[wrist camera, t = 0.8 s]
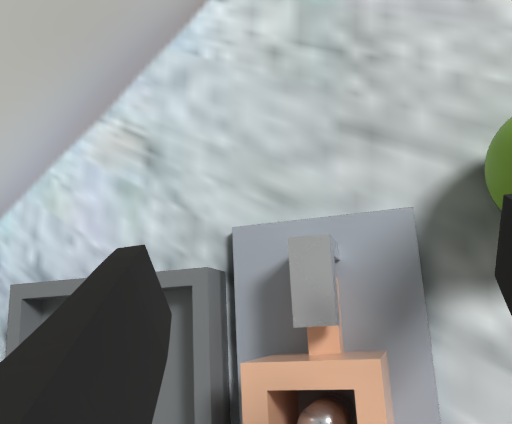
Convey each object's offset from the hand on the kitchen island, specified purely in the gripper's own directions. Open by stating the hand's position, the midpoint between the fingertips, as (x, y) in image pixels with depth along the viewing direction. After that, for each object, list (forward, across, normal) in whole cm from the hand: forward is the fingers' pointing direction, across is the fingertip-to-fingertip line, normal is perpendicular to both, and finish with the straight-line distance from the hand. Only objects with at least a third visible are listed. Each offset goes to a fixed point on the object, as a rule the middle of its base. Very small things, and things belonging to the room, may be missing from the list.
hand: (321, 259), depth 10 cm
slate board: (+7, 0, +12) cm, 14 cm away
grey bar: (+8, 0, +11) cm, 14 cm away
